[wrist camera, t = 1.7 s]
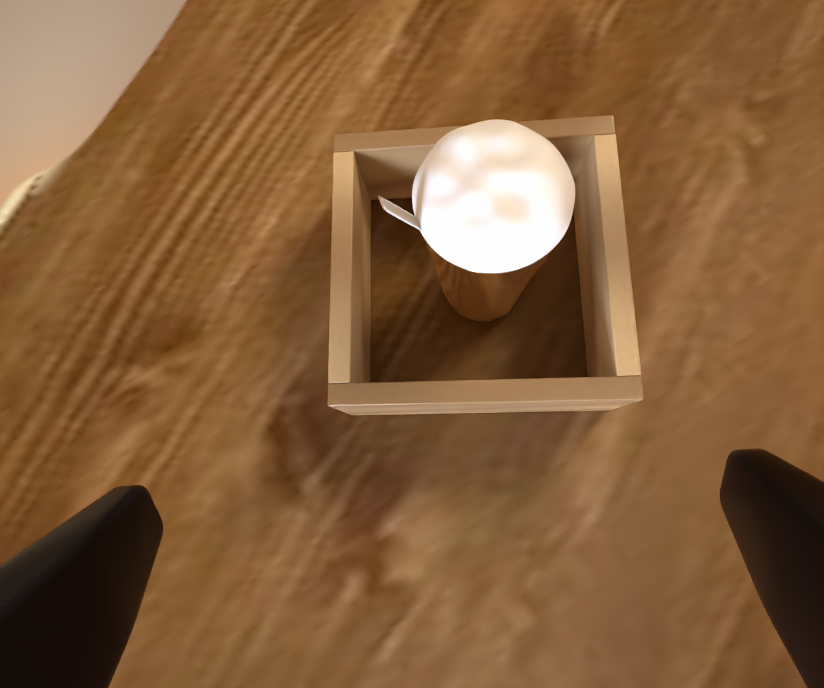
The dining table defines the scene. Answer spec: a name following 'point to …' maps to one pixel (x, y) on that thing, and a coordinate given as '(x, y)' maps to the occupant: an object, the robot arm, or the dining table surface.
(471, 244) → the milkshake
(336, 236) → the crate
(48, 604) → the robot arm
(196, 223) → the dining table surface
